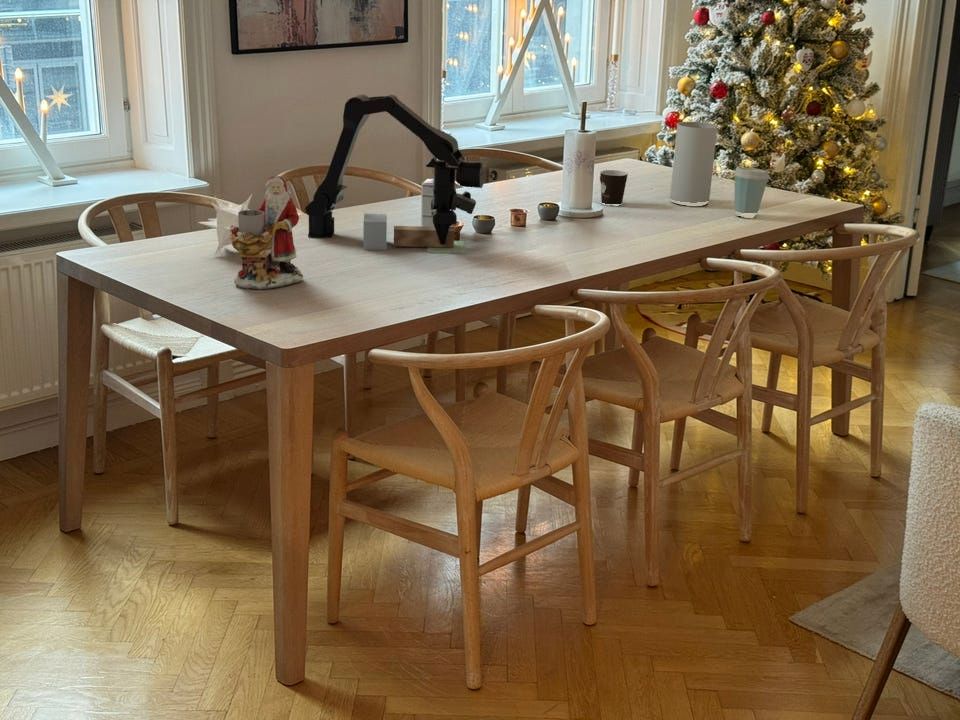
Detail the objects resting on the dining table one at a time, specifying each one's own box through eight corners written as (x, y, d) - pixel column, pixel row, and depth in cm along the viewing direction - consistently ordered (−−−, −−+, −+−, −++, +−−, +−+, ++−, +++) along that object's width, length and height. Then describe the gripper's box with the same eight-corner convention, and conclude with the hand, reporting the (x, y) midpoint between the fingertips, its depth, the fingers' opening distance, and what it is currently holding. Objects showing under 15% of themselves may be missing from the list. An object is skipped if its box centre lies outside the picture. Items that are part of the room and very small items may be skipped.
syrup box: (440, 235, 328) (442, 183, 322) (420, 233, 329) (421, 182, 324) (445, 230, 333) (447, 179, 328) (425, 228, 334) (426, 178, 329)
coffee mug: (626, 207, 369) (629, 176, 366) (599, 206, 369) (601, 175, 366) (622, 199, 380) (625, 168, 376) (596, 198, 380) (598, 167, 376)
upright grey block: (363, 249, 310) (363, 221, 307) (364, 240, 318) (364, 213, 316) (386, 250, 311) (386, 222, 308) (386, 241, 319) (386, 213, 316)
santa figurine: (238, 293, 271) (235, 186, 262) (226, 276, 283) (222, 174, 274) (309, 287, 277) (308, 183, 268) (294, 271, 289) (292, 171, 280)
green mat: (428, 252, 310) (428, 251, 310) (426, 240, 321) (426, 240, 321) (466, 253, 311) (466, 252, 311) (463, 241, 322) (463, 240, 322)
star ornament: (186, 250, 304) (184, 194, 299) (230, 242, 314) (228, 188, 310) (238, 263, 292) (236, 206, 287) (281, 254, 303) (280, 198, 298)
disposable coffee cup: (732, 210, 371) (737, 163, 366) (766, 215, 368) (772, 167, 362) (726, 217, 362) (731, 169, 356) (761, 222, 358) (767, 173, 353)
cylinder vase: (665, 198, 384) (672, 121, 376) (702, 198, 386) (710, 122, 377) (675, 207, 373) (683, 127, 364) (713, 207, 374) (722, 128, 366)
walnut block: (393, 246, 313) (394, 229, 311) (393, 242, 317) (393, 225, 315) (453, 247, 314) (454, 230, 313) (453, 243, 318) (453, 227, 316)
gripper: (477, 193, 302) (474, 252, 307) (472, 178, 319) (470, 234, 325) (433, 192, 301) (432, 251, 307) (431, 177, 318) (429, 233, 324)
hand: (442, 242), depth 315 cm, fingers closed on walnut block, 4 cm apart
